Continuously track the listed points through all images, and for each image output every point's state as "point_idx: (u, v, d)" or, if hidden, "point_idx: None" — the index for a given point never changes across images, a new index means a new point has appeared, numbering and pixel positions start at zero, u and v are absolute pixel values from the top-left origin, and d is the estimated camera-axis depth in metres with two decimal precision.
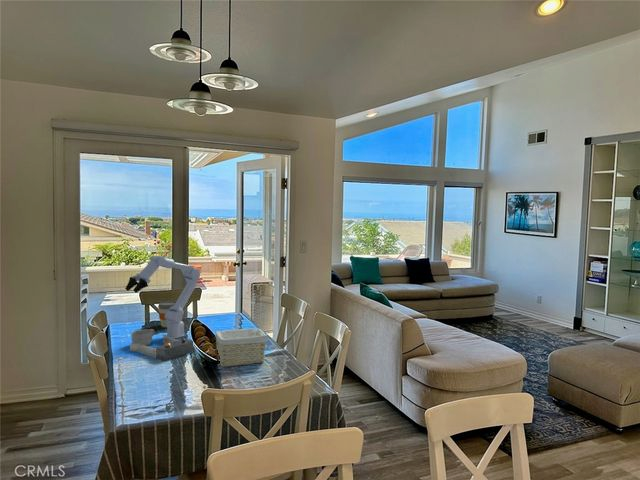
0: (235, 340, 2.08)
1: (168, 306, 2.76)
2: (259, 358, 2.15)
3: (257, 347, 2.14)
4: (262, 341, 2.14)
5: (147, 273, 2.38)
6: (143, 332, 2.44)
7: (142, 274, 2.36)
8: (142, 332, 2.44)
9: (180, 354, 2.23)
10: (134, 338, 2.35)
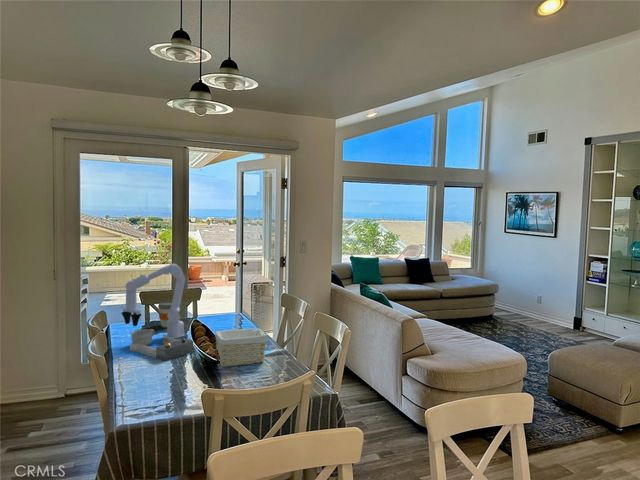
0: (235, 340, 2.08)
1: (168, 306, 2.76)
2: (259, 358, 2.15)
3: (257, 347, 2.14)
4: (262, 341, 2.14)
5: (132, 304, 2.44)
6: (143, 332, 2.44)
7: (129, 308, 2.44)
8: (142, 332, 2.44)
9: (180, 354, 2.23)
10: (134, 338, 2.35)
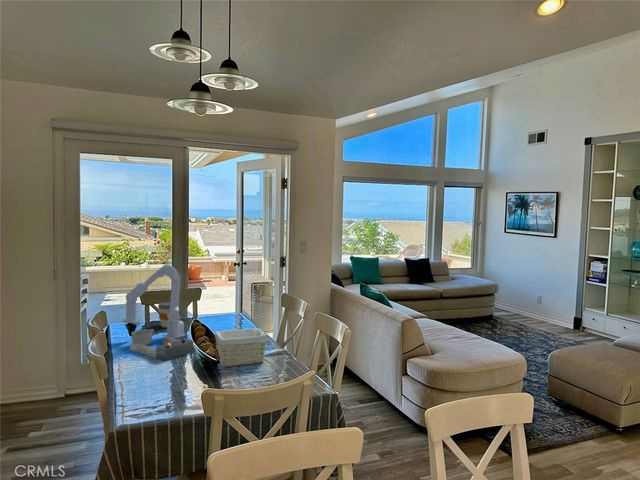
0: (235, 340, 2.08)
1: (168, 306, 2.76)
2: (259, 358, 2.15)
3: (257, 347, 2.14)
4: (262, 341, 2.14)
5: (132, 316, 2.44)
6: (143, 332, 2.44)
7: (129, 319, 2.44)
8: (142, 332, 2.44)
9: (180, 354, 2.23)
10: (134, 338, 2.35)
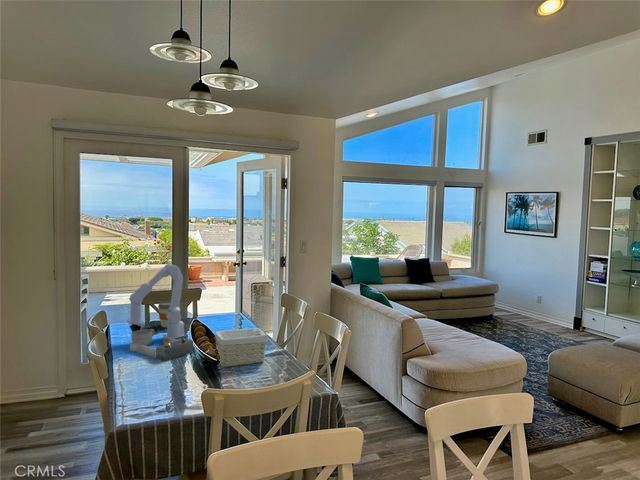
0: (236, 340, 2.08)
1: (168, 306, 2.76)
2: (259, 358, 2.15)
3: (257, 347, 2.14)
4: (262, 341, 2.14)
5: (137, 317, 2.42)
6: (143, 332, 2.44)
7: (133, 321, 2.41)
8: (142, 332, 2.44)
9: (180, 354, 2.23)
10: (134, 338, 2.35)
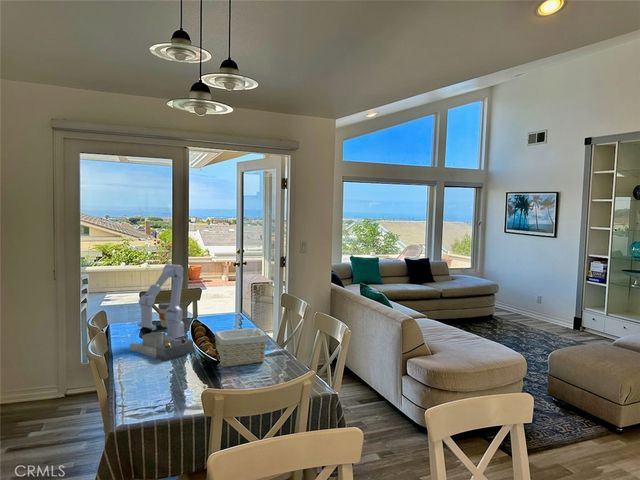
0: (236, 340, 2.08)
1: (168, 306, 2.76)
2: (259, 358, 2.15)
3: (257, 347, 2.14)
4: (262, 341, 2.15)
5: (147, 320, 2.36)
6: (154, 335, 2.39)
7: (144, 324, 2.36)
8: (153, 335, 2.38)
9: (180, 354, 2.23)
10: (145, 341, 2.29)
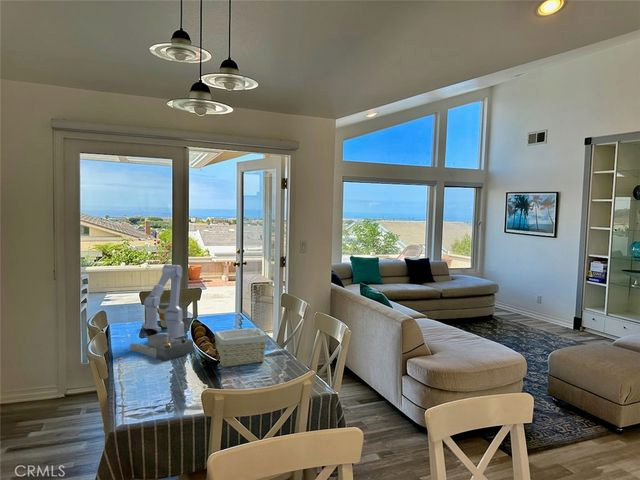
0: (236, 340, 2.08)
1: (168, 306, 2.76)
2: (259, 357, 2.15)
3: (257, 346, 2.14)
4: (262, 340, 2.15)
5: (152, 321, 2.33)
6: (159, 337, 2.36)
7: (149, 325, 2.33)
8: (158, 337, 2.36)
9: (180, 354, 2.23)
10: (150, 343, 2.27)
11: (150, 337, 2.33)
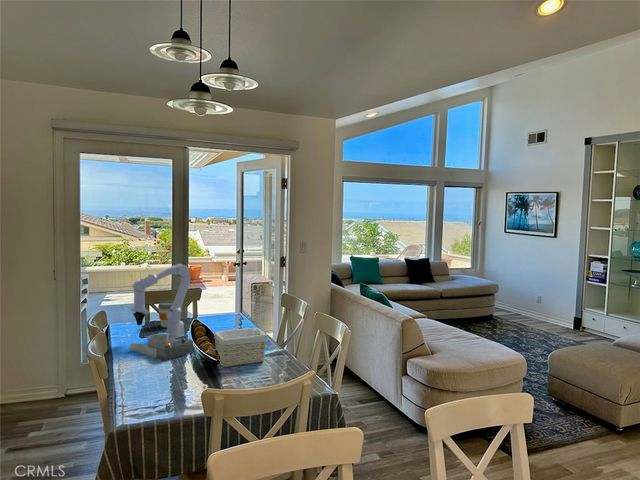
0: (236, 340, 2.08)
1: (168, 306, 2.76)
2: (259, 357, 2.16)
3: (257, 346, 2.15)
4: (262, 340, 2.15)
5: (140, 304, 2.42)
6: (159, 337, 2.36)
7: (137, 308, 2.42)
8: (158, 337, 2.36)
9: (180, 354, 2.23)
10: (150, 343, 2.27)
11: (150, 337, 2.33)
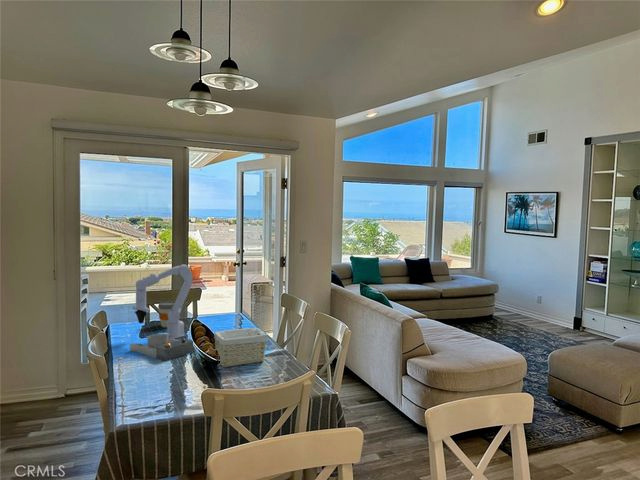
0: (236, 340, 2.08)
1: (168, 306, 2.76)
2: (259, 357, 2.16)
3: (258, 346, 2.15)
4: (262, 340, 2.15)
5: (142, 303, 2.47)
6: (159, 337, 2.36)
7: (139, 306, 2.47)
8: (158, 337, 2.36)
9: (180, 354, 2.23)
10: (150, 343, 2.27)
11: (150, 337, 2.33)
